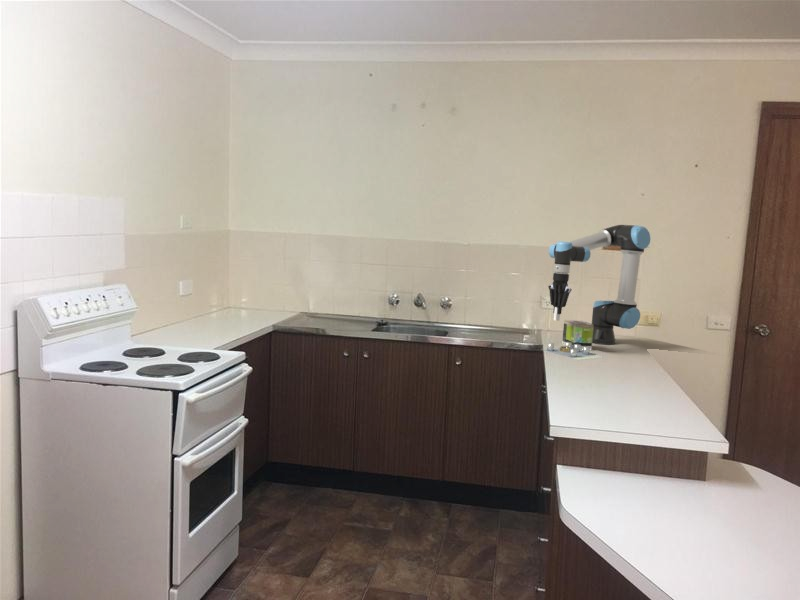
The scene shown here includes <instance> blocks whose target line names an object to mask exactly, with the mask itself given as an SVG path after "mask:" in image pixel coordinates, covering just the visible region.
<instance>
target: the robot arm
mask: <svg viewBox="0 0 800 600" xmlns="http://www.w3.org/2000/svg"><path fill="white" fill-rule="evenodd" d="M650 243H651V233H650V231H649V230H648V229H647V227H645V226H642V225H636V224H635V225H632V224H630V225H628V224H617V225H612V226H610V227H606V228H603V229H600V230H599V231H597V232H596V233H593V234H590V235H586V236H583V237H581V238H580V237H579V238H577V239H573V240H570V241H560V240H559V241H557V242H556V243H553V244H552V245H550V246H549V249H548V255H549V257H550V258H552V259H554V267H553V275H552V280H553V282H552V284H550V285H548V290H549V298H550V299H549V300H550V305H551V306H552V307H553V312H552V313H553V321H555V322H557V321H560V319H561V315H562V310H563V309H562V308H565V307H566V305H567V302H568V299H569V297H570V296H569V295H570V294H571V292H572V288H570V287H569V285H568V282H569V279H570V274H569V273H570V271H571V270H570V269H571V263H572V262H578V263H583V262H585V263H586V262H587V261H589V260H590V258H591V251H592V250H595V249H598V248H601V247H604V248H608V247H620V251H621V253H622V258H621V259H622V261H621V268H620V275H619V282H618V289H617V290H618V291H617V297H616V299H615V300H596V301H594V302H593V307H592V314H591V317H592V318H591V324H594V326H593V338H592V344H598V345H615V344H616V338H615V332H614V327H618V328H621V329H627V330H629V329H634V328H635V327H636V326H637V324H638V323H639V321H640V318H641V312H640V309H638V308H637V302H636V300H635V297H636V290H637V283H638V282H637V281H638V274H639V266H640V259H641V255H643V254H644V252H645V249H647V248H648V247H649V246H650Z"/></svg>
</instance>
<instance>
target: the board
mask: <svg viewBox="0 0 800 600" xmlns="http://www.w3.org/2000/svg"><path fill="white" fill-rule="evenodd" d="M543 352H547V353H552V354H556V355H559V356H563V357H567V358H570V359H574V360H577V361H581V360H590V359H598V358H602V356H601V355H598V354H597V355H596V354H593V353H590V352H589V355H585V354H582V353H583V350H580V352H577V357H570V352H561V351H560V348H554V351H547V349H544V350H543Z"/></svg>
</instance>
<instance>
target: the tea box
mask: <svg viewBox="0 0 800 600" xmlns="http://www.w3.org/2000/svg"><path fill="white" fill-rule="evenodd" d="M593 326H594V324H592V322H591V323H590V322H587V321H585V320H579V319H578V320H577V319H564V320H563V331H562V341H561V344H562V345H563V346H565V342H571V343H572V348H571V349H574V344H580V345H581V349H580V351H583V346H588V347H590V351H592V349H593V347H592V346H593V343H592V338H593Z"/></svg>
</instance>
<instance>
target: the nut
mask: <svg viewBox="0 0 800 600" xmlns="http://www.w3.org/2000/svg"><path fill="white" fill-rule="evenodd" d="M559 349H560V351H561V352H570V347H565V346H564V345H563V346H560V347H559Z"/></svg>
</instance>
